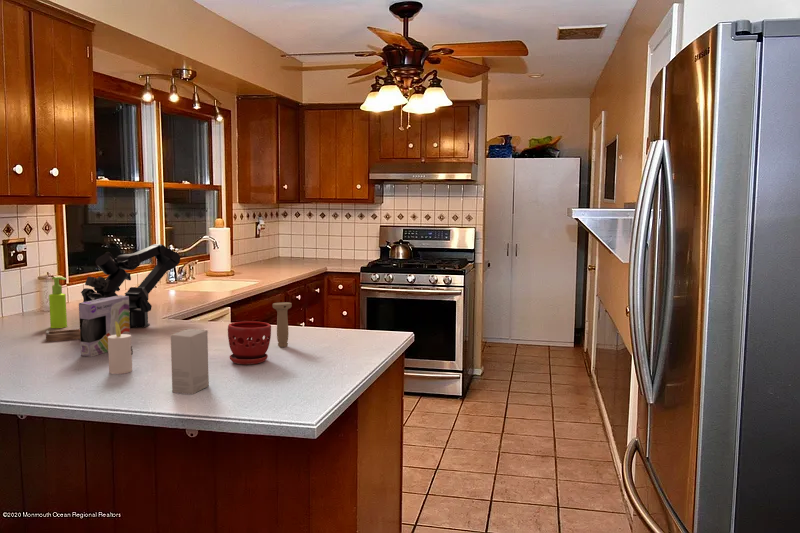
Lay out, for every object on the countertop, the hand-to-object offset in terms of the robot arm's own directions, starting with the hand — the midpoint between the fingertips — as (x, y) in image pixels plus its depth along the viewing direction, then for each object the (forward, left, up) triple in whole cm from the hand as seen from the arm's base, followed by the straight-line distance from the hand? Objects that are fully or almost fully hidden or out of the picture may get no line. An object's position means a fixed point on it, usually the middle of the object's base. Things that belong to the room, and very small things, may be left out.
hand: (87, 314), depth 249 cm
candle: (-35, +51, -8) cm, 63 cm away
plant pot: (-70, +38, -8) cm, 80 cm away
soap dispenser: (+20, -19, -8) cm, 29 cm away
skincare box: (-62, +70, -8) cm, 94 cm away
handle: (-76, +16, -8) cm, 78 cm away
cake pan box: (-18, +24, -8) cm, 31 cm away
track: (+5, +3, -8) cm, 10 cm away
